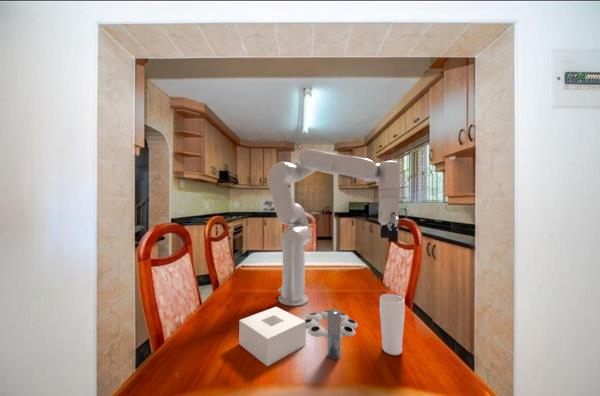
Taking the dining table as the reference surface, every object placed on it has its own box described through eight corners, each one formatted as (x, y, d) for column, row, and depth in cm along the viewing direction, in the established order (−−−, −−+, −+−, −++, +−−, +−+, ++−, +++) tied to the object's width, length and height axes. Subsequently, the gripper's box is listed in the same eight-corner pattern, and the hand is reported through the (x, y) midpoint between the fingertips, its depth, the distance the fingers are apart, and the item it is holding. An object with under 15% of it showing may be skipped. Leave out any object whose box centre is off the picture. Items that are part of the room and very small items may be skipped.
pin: (324, 355, 69) (324, 311, 69) (332, 350, 71) (333, 308, 72) (335, 361, 66) (335, 316, 66) (343, 355, 69) (343, 312, 69)
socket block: (239, 343, 74) (239, 320, 74) (276, 327, 84) (276, 306, 84) (267, 366, 64) (267, 338, 64) (305, 344, 74) (305, 321, 74)
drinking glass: (375, 344, 74) (376, 293, 75) (397, 343, 75) (397, 293, 75) (385, 358, 68) (385, 303, 68) (409, 357, 68) (409, 302, 68)
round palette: (325, 308, 100) (325, 303, 100) (369, 326, 86) (369, 320, 86) (289, 325, 87) (289, 319, 87) (334, 349, 73) (335, 342, 73)
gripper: (373, 194, 103) (372, 236, 103) (385, 193, 86) (385, 243, 85) (391, 195, 103) (391, 236, 102) (408, 193, 85) (407, 243, 85)
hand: (388, 239), depth 94 cm, fingers open, 9 cm apart
